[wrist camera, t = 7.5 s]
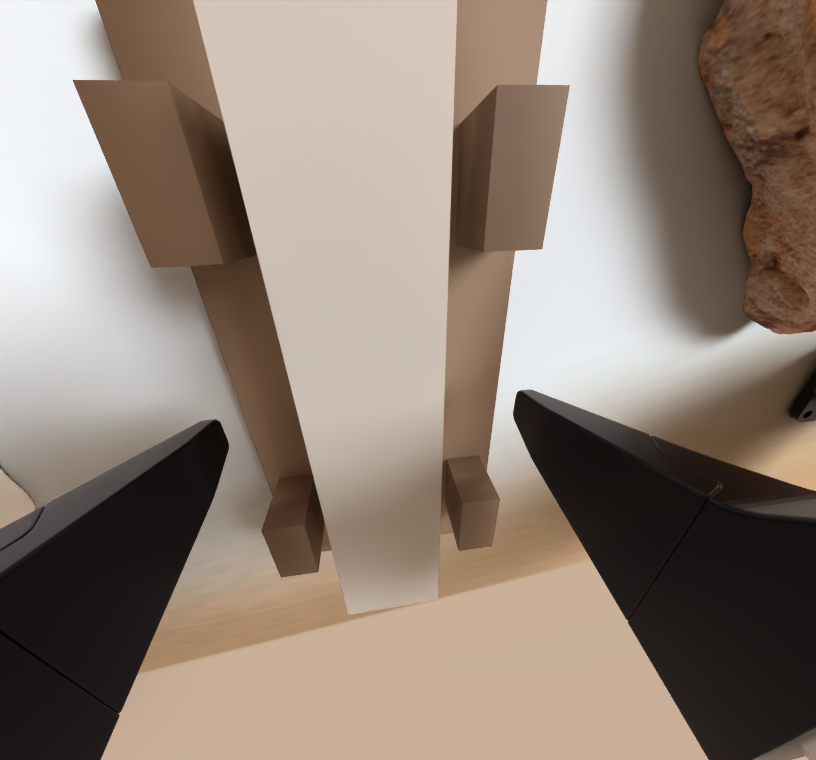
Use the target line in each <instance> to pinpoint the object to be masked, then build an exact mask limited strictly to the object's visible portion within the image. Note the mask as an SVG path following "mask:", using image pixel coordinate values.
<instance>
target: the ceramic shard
mask: <svg viewBox="0 0 816 760" xmlns="http://www.w3.org/2000/svg"><path fill="white" fill-rule="evenodd" d="M698 68H699V71H700V77H701V79H702V80H703V82H704V84H705V86H706V89H707V91H708V94H709V96H710V98H711V101H712V104H713V106H714V109H715V112H716V114H717V116H718V118H719V120H720V122H721V124H722V126H723V129H724V133H725V136H726V138H727V140H728V142H729V144H730V145H731V147H732V149H733V150H734V152H735V154H736V156H737V157H738V159H739V161H740V163H741V164H742V166H743V170H744V174H745V178H746V179H747V180H748V181H749V182H750V183H751V184H752V199H751V205H750V208H749V210H748V212H747V215H746V219H745V224H744V229H743V233H742V234H743V237H744V241H745V245H746V249H747V252H748V255H749V257H750V260H751V262H750V268H751V269H750V273H749V276H748V279H747V282H746V290H745V298H744V305H743V309H744V312H745V314H747V315H748V316H749V317H750V318H751V319H752V320H753V321H755V322H757V323H758V324H760V325H762V326H763V327H765V328H767V329H770V330H771V331H773V332H774V333H777V334H794V333H801V332H812V331H815V330H816V0H725V1H724V3H723V4H722V6H721V8H720V10H719V12H718V14H717V16H716V18H715V20H714V22H713V23H712V24H711V26H710V27H709V28H708V29H707V31H706V32H705V33H704V35H703V37H702V42H701V46H700V50H699V54H698Z"/></svg>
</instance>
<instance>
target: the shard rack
mask: <svg viewBox="0 0 816 760" xmlns="http://www.w3.org/2000/svg"><path fill="white" fill-rule="evenodd" d="M95 1H96V4H97V7H98V10H99V12H100V15H101V18H102V21H103V24H104V26H105V29H106V32H107V35H108V37H109V40H110V43H111V46H112V49H113V51H114V54H115V57H116V60H117V63H118V65H119V68H120V71H121V74H122V77H123V79H124V81H112V80H73V82H74V85H75V87H76V89H77V92H78V94H79V96H80V99H81V101H82V104H83V106H84V108H85V111H86V113H87V116H88V118H89V120H90V123H91V125H92V127H93V130H94V132H95V135H96V137H97V139H98V142H99V144H100V147H101V149H102V151H103V154H104V156H105V159H106V161H107V163H108V166H109V168H110V170H111V173H112V175H113V178H114V180H115V182H116V185H117V187H118V190H119V192H120V194H121V197H122V199H123V201H124V204H125V206H126V209H127V211H128V213H129V216H130V218H131V221H132V223H133V225H134V228H135V230H136V232H137V235H138V237H139V240H140V242H141V244H142V247H143V249H144V252H145V254H146V256H147V259H148V261H149V263H150V266H151V268H155V267H176V266H191V269H192V272H193V274H194V277H195V280H196V283H197V286H198V288H199V291H200V294H201V297H202V300H203V302H204V305H205V308H206V311H207V313H208V316H209V319H210V322H211V325H212V327H213V330H214V333H215V336H216V339H217V341H218V344H219V347H220V350H221V353H222V355H223V358H224V361H225V364H226V366H227V369H228V372H229V375H230V378H231V380H232V383H233V386H234V389H235V392H236V394H237V397H238V400H239V403H240V405H241V408H242V411H243V414H244V417H245V419H246V422H247V425H248V428H249V431H250V433H251V436H252V439H253V442H254V445H255V447H256V450H257V453H258V456H259V458H260V461H261V464H262V467H263V470H264V472H265V475H266V478H267V481H268V484H269V486H270V489H271V492H272V495H273V498H272V501H271V504H270V507H269V510H268V513H267V516H266V519H265V522H264V525H263V528H262V533H263V536H264V538H265V540H266V543H267V545H268V547H269V550H270V552H271V555H272V557H273V559H274V562H275V564H276V567H277V569H278V571H279V574H280V576H281V577H287V576H294V575H301V574H307V573H314V572H318V571H319V563H320V556H321V552H322V551H329V550H332V548H331V544H330V541H329V537H328V533H327V529H326V525H325V521H324V517H323V513H322V509H321V505H320V501H319V497H318V493H317V489H316V485H315V481H314V477H313V473H312V469H311V465H310V461H309V457H308V453H307V449H306V445H305V442H304V438H303V434H302V430H301V426H300V422H299V418H298V414H297V410H296V406H295V402H294V398H293V394H292V390H291V386H290V382H289V378H288V374H287V370H286V366H285V362H284V358H283V354H282V350H281V346H280V343H279V339H278V335H277V331H276V327H275V323H274V319H273V315H272V311H271V307H270V303H269V299H268V295H267V291H266V287H265V283H264V279H263V275H262V271H261V267H260V263H259V259H258V255H257V251H256V247H255V244H254V240H253V236H252V232H251V228H250V224H249V220H248V216H247V212H246V208H245V204H244V200H243V196H242V192H241V188H240V184H239V180H238V176H237V172H236V168H235V164H234V160H233V156H232V152H231V148H230V145H229V141H228V137H227V133H226V129H225V125H224V121H223V117H222V113H221V109H220V105H219V101H218V97H217V93H216V89H215V85H214V81H213V77H212V73H211V69H210V65H209V61H208V57H207V53H206V49H205V46H204V42H203V38H202V34H201V30H200V26H199V22H198V18H197V14H196V10H195V6H194V2H193V0H95ZM546 6H547V0H457V25H456V56H455V87H454V118H453V148H452V179H451V210H450V240H449V271H448V302H447V333H446V363H445V394H444V425H443V455H442V486H441V517H440V535H441V534H448V533H454V536H455V539H456V543H457V546H458V550H459V551H461V550H468V549H474V548H481V547H488V546H492V543H493V537H494V531H495V525H496V519H497V513H498V507H499V501H500V498H499V496H498V494H497V492H496V490H495V488H494V486H493V484H492V482H491V480H490V478H489V476H488V474H487V472H486V471H487V463H488V455H489V447H490V440H491V432H492V424H493V416H494V409H495V401H496V393H497V385H498V378H499V370H500V362H501V354H502V347H503V339H504V331H505V323H506V316H507V308H508V300H509V292H510V285H511V277H512V269H513V261H514V254H515V250H536V249H542V246H543V240H544V235H545V229H546V223H547V217H548V211H549V205H550V199H551V193H552V187H553V181H554V175H555V169H556V163H557V158H558V152H559V146H560V140H561V134H562V128H563V122H564V116H565V110H566V104H567V98H568V92H569V86H570V85H536V83H537V76H538V68H539V60H540V52H541V45H542V37H543V29H544V21H545V14H546Z"/></svg>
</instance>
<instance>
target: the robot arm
mask: <svg viewBox="0 0 816 760" xmlns="http://www.w3.org/2000/svg"><path fill="white" fill-rule="evenodd" d="M513 416H514V420H515V422H516V425H517V427H518V429H519V431H520V434H521V436H522V438H523V440H524V443H525V445H526V447H527V449H528V452H529V454H530V456H531V458H532V460H533V462H534V463H535V465H536V467H537V469H538V470H539V472H540V474H541V475H542V477H543V479H544V481H545V482H546V484H547V486H548V487H549V489H550V491H551V492H552V494H553V496H554V497H555V499H556V501H557V503H558V504H559V506H560V508H561V509H562V511H563V513H564V514H565V516H566V518H567V520H568V521H569V523H570V525H571V526H572V528H573V530H574V531H575V533H576V535H577V537H578V538H579V540H580V542H581V543H582V545H583V547H584V548H585V550H586V552H587V554H588V555H589V557H590V559H591V560H592V562H593V563H594V565H595V567H596V569H597V570H598V572H599V574H600V576H601V577H602V579H603V581H604V582H605V584H606V586H607V587H608V589H609V591H610V593H611V594H612V596H613V598H614V599H615V601H616V603H617V604H618V606H619V608H620V610H621V611H622V613H623V615H624V616H625V618H626V619H627V620H628V624H629V625H630V627H631V628H632V630H633V632H634V634H635V636H636V637H637V639H638V640H639V642H640V644H641V646H642V647H643V649H644V651H645V652H646V654H647V656H648V657H649V659H650V661H651V662H652V664H653V666H654V668H655V669H656V671H657V673H658V674H659V676H660V678H661V680H662V681H663V683H664V685H665V686H666V688H667V690H668V692H669V693H670V695H671V697H672V698H673V700H674V702H675V703H676V705H677V706H678V708H679V710H680V712H681V714H682V715H683V717H684V718H685V720H686V722H687V724H688V725H689V727H690V729H691V730H692V732H693V734H694V736H695V737H696V739H697V741H698V742H699V744H700V746H701V748H702V749H703V751H704V752H705V754H706V756H707V758H708V759H709V760H791V759H796V758H800V757H804V756H806V757H807V758H808V759H809V760H816V491H813V490H809V489H806V488H802V487H799V486H796V485H793V484H790V483H787V482H784V481H781V480H778V479H775V478H772V477H769V476H766V475H763V474H760V473H757V472H754V471H751V470H748V469H745V468H742V467H739V466H736V465H733V464H730V463H727V462H724V461H721V460H718V459H715V458H712V457H709V456H706V455H703V454H701V453H698V452H695V451H692V450H689V449H686V448H684V447H681V446H678V445H676V444H673V443H670V442H667V441H665V440H662V439H660V438H657V437H654V436H649V434H646V433H644V432H641V431H638V430H636V429H633V428H631V427H628V426H625V425H623V424H620V423H617V422H615V421H612V420H610V419H607V418H604V417H602V416H599V415H596V414H594V413H591V412H589V411H586V410H583V409H581V408H578V407H575V406H573V405H570V404H568V403H565V402H562V401H560V400H557V399H554V398H552V397H549V396H547V395H544V394H541V393H539V392H536V391H534V390H521V391H518V392H517V394H516V399H515V405H514V411H513ZM789 417H790V418H793V419H795V420H797V421H799V422H806V421H814V420H816V376H815V377H814V379H813V380H812V381H811V383H810V384H809V386H808V387H807V389H806V390H805V391H804V393H803V394H802V396H801V397H800V399H799V400H798V401H797V403H796V404H795V406H794V407H793V408H792V410H791V411H790V413H789ZM228 450H229V443H228V440H227V437H226V435H225V433H224V430H223V428H222V425H221V423H220V422H219V421H218V420H206V421H201V422H199V423H197V424H195V425H193V426H191V427H189V428H187V429H186V430H184V431H182V432H180V433H178V434H176V435H174V436H173V437H171V438H169V439H167V440H165V441H163V442H161V443H160V444H158V445H156V446H154V447H152V448H150V449H148V450H146V451H145V452H143V453H141V454H139V455H137V456H135V457H133V458H132V459H130V460H128V461H126V462H124V463H122V464H120V465H119V466H117V467H115V468H113V469H111V470H109V471H107V472H106V473H104V474H102V475H100V476H98V477H96V478H94V479H93V480H91V481H89V482H87V483H85V484H83V485H81V486H80V487H78V488H76V489H74V490H72V491H70V492H68V493H66V494H65V495H63V496H61V497H59V498H57V499H55V500H53V501H52V502H50V503H48V504H47V505H46V507H40V508H38V509H37V510H35V511H33V512H31V513H29V514H27V515H25V516H24V517H22V518H20V519H18V520H16V521H14V522H12V523H10V524H8V525H7V526H5V527H3V528H1V529H0V760H101V757H102V755H103V753H104V750H105V748H106V746H107V743H108V741H109V739H110V737H111V734H112V732H113V730H114V728H115V725H116V723H117V720H118V718H119V714H118V713H120V712H121V711H122V708H123V706H124V704H125V701H126V699H127V696H128V694H129V692H130V690H131V688H132V685H133V683H134V681H135V678H136V676H137V674H138V671H139V669H140V667H141V665H142V662H143V660H144V658H145V655H146V653H147V651H148V648H149V646H150V644H151V641H152V639H153V637H154V635H155V632H156V630H157V628H158V625H159V623H160V621H161V618H162V616H163V614H164V611H165V609H166V607H167V605H168V602H169V600H170V598H171V595H172V593H173V591H174V588H175V586H176V584H177V581H178V579H179V577H180V575H181V572H182V570H183V568H184V565H185V563H186V561H187V558H188V556H189V554H190V551H191V549H192V547H193V545H194V542H195V540H196V538H197V535H198V533H199V531H200V528H201V526H202V524H203V521H204V519H205V517H206V515H207V512H208V510H209V508H210V505H211V503H212V500H213V498H214V495H215V492H216V489H217V486H218V483H219V479H220V476H221V473H222V470H223V466H224V463H225V460H226V456H227V453H228Z"/></svg>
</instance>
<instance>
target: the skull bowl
mask: <svg viewBox="0 0 816 760" xmlns="http://www.w3.org/2000/svg"><path fill="white" fill-rule="evenodd" d="M35 510H36V509H35V506H34V504H33V502H32V500H31V498H30V497H29V496H28V495H27V493H26V492H25V491H24V490H23V489H22V488H20V487H19V486H18V485H17V484H16V483H14V482H13V481H12V480H11V479H10V478H9V477H8V476H7V475H6V474H5V473H4V472H3V471H2V470H1V468H0V529H1V528H3V527H5V526H7V525H8V524H10V523H12V522H14V521H16V520H18V519H20V518H22V517H24V516H25V515H27V514H29V513H31V512H33V511H35Z"/></svg>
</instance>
